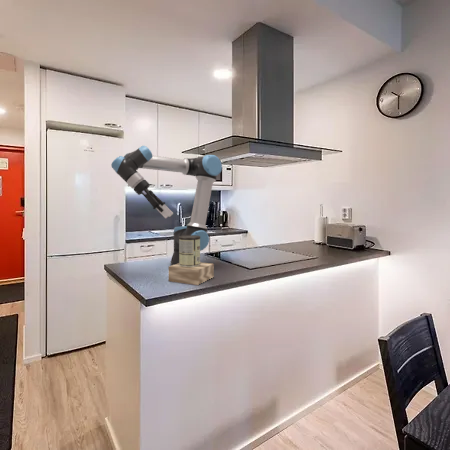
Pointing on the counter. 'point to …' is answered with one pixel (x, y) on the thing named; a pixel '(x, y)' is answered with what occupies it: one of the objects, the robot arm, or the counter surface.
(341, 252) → the counter surface
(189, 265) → the coffee can
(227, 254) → the counter surface
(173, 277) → the birch block
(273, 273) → the counter surface
